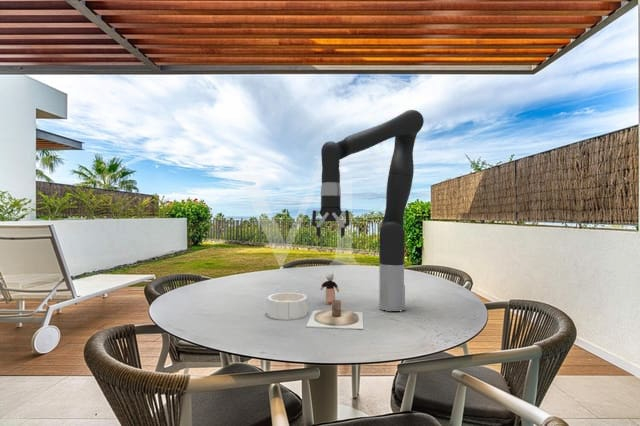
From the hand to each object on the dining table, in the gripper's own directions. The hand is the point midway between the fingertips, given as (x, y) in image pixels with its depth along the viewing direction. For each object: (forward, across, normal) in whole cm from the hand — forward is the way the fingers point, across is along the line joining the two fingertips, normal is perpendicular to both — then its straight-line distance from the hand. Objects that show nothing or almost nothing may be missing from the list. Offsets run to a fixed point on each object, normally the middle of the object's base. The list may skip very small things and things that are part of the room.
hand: (330, 237), depth 131 cm
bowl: (+27, +15, +8) cm, 32 cm away
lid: (+27, -3, +14) cm, 30 cm away
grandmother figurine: (+27, +1, -7) cm, 28 cm away
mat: (+27, -3, +14) cm, 31 cm away
